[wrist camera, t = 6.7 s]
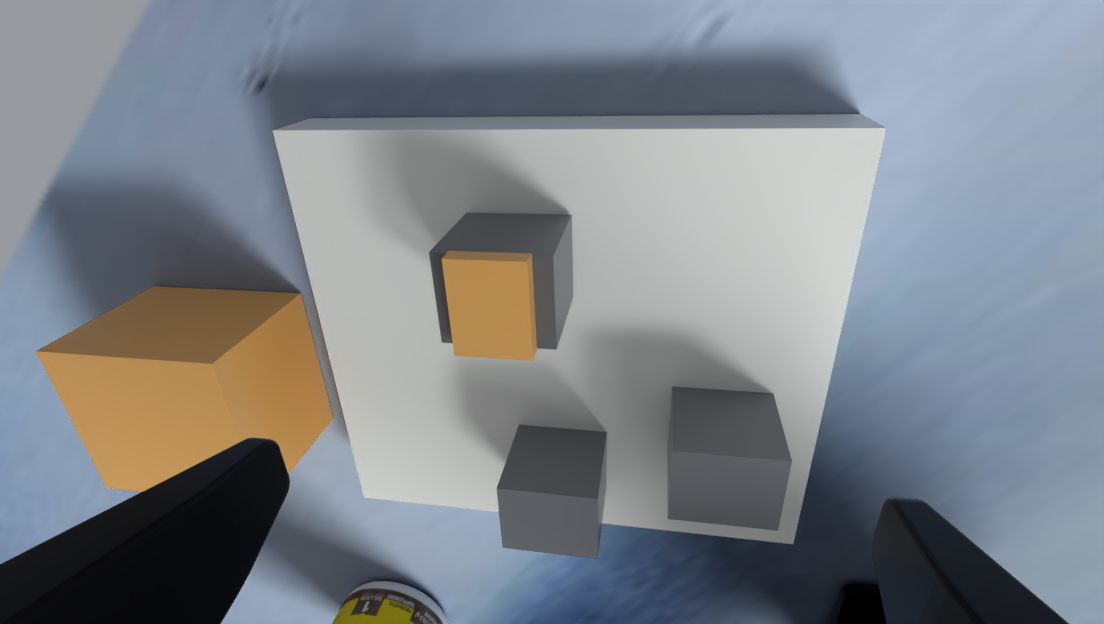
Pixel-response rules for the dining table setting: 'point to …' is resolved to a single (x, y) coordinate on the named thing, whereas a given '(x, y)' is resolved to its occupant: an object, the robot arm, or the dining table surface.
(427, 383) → the board
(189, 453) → the orange block
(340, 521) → the dining table surface
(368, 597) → the supplement bottle
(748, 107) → the dining table surface
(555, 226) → the block
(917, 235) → the dining table surface
